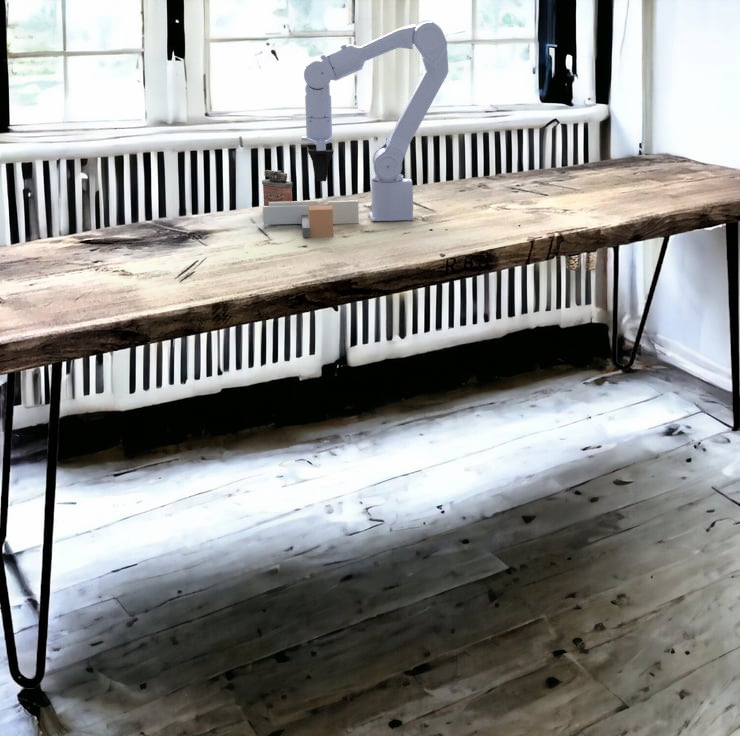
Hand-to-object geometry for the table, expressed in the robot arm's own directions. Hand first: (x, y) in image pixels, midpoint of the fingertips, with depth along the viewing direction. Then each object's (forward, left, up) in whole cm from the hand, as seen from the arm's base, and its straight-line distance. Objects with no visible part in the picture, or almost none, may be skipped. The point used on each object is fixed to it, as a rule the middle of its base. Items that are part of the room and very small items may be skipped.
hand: (320, 177), depth 234 cm
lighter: (+10, -7, -10) cm, 15 cm away
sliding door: (+8, +11, -9) cm, 17 cm away
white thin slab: (+2, +5, -9) cm, 11 cm away
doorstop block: (+1, +15, -10) cm, 18 cm away
